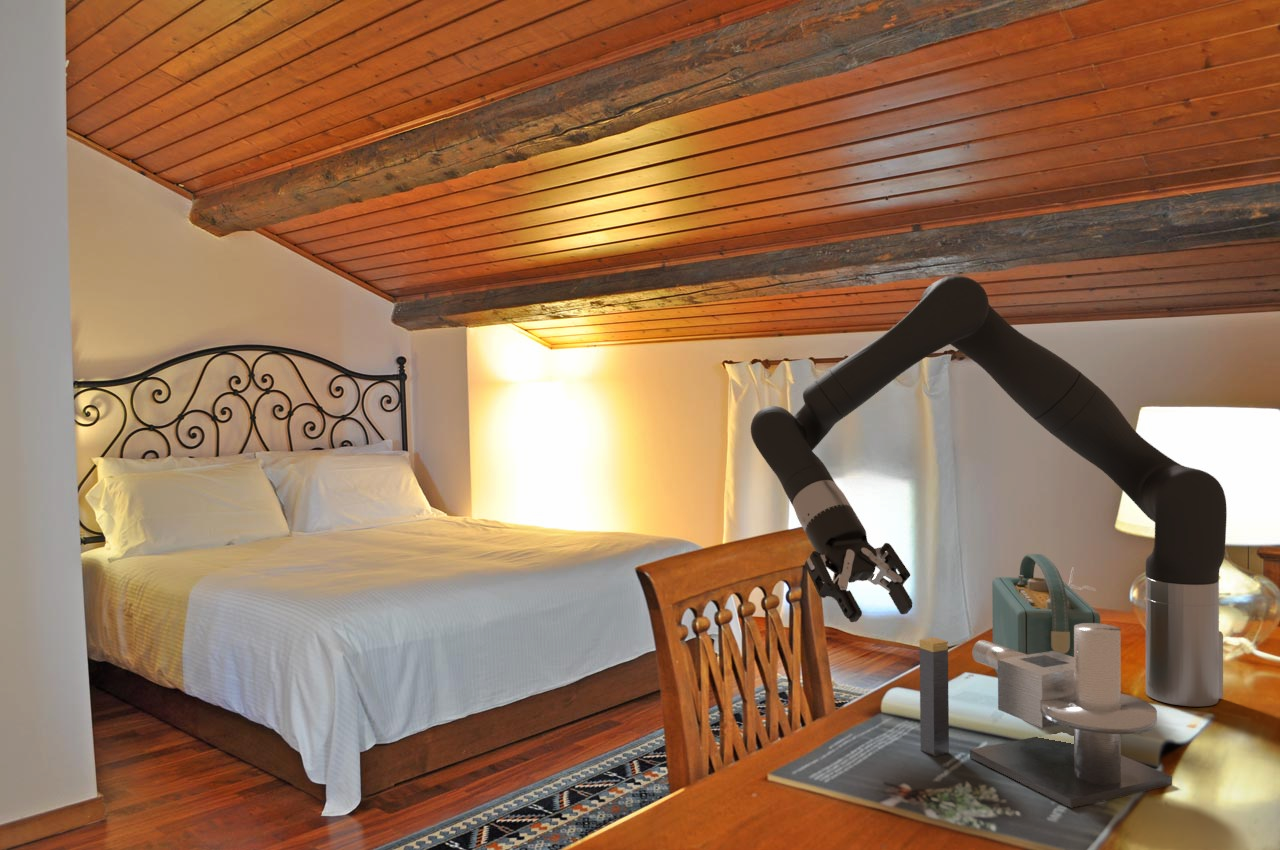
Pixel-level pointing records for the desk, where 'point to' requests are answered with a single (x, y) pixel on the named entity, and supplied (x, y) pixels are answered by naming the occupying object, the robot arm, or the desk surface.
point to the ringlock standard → (1070, 719)
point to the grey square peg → (934, 696)
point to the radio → (1037, 610)
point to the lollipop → (1077, 586)
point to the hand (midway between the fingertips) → (882, 614)
